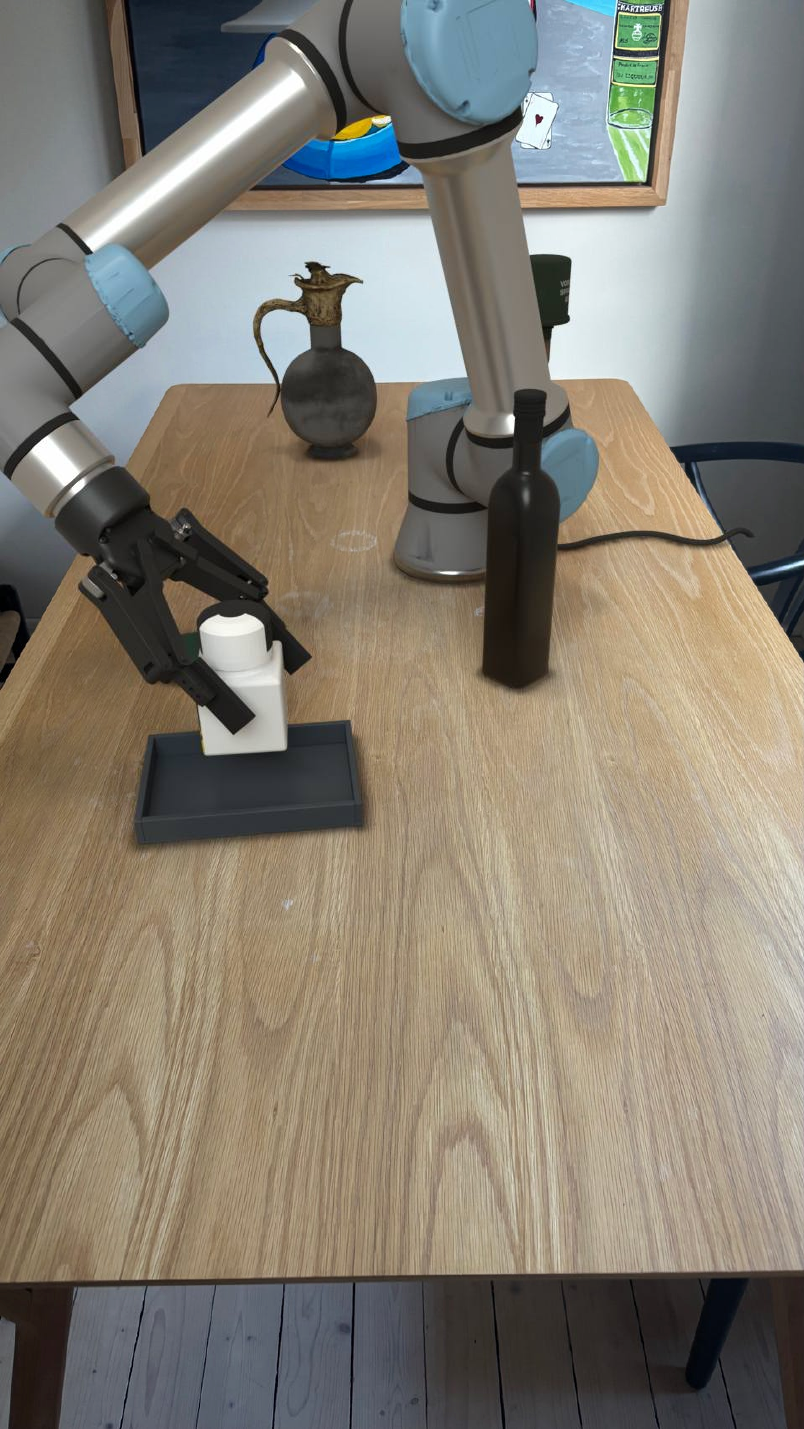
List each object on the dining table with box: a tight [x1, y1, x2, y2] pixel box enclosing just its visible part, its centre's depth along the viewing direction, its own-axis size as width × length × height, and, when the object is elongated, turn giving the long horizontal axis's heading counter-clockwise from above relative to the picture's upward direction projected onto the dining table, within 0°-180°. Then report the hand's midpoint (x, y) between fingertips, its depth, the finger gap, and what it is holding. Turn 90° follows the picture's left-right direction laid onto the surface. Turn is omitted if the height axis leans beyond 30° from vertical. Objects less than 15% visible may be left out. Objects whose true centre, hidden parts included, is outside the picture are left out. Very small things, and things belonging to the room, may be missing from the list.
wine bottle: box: [481, 389, 561, 690], centre depth 102 cm, size 6×6×30 cm
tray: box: [133, 719, 364, 845], centre depth 93 cm, size 19×13×2 cm
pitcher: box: [252, 260, 378, 461], centre depth 163 cm, size 11×19×30 cm, turn 97°
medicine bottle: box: [195, 600, 289, 756], centre depth 87 cm, size 7×7×12 cm
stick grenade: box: [529, 253, 573, 365], centre depth 162 cm, size 8×9×30 cm
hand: (274, 694), depth 87 cm, fingers closed on medicine bottle, 9 cm apart
